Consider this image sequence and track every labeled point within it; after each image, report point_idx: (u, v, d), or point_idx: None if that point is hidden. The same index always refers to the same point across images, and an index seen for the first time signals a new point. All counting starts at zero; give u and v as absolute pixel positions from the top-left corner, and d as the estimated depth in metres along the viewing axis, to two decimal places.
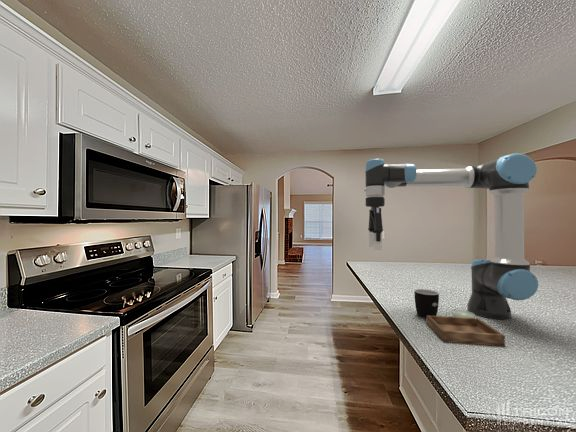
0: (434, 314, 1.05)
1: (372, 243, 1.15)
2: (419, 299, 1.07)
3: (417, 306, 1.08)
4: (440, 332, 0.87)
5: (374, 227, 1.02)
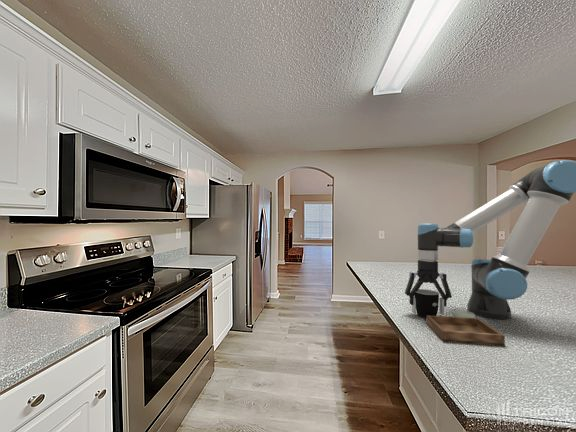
0: (434, 314, 1.05)
1: (440, 310, 1.09)
2: (419, 299, 1.07)
3: (417, 306, 1.08)
4: (440, 332, 0.87)
5: None
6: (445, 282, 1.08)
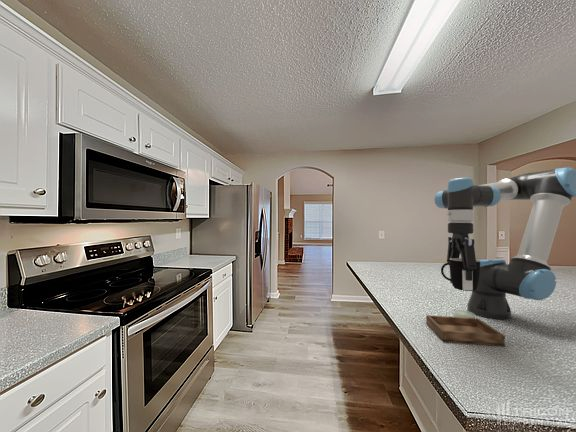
0: None
1: None
2: (478, 269, 0.88)
3: (474, 279, 0.88)
4: (440, 332, 0.87)
5: (463, 262, 0.88)
6: None
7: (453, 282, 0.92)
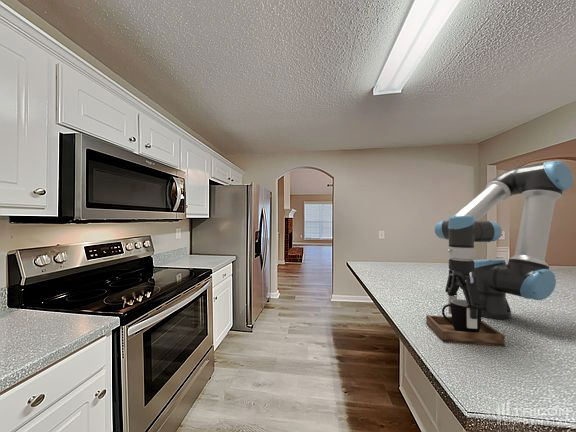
0: None
1: None
2: (479, 314, 0.87)
3: None
4: (440, 332, 0.87)
5: (467, 300, 0.85)
6: None
7: (455, 326, 0.91)
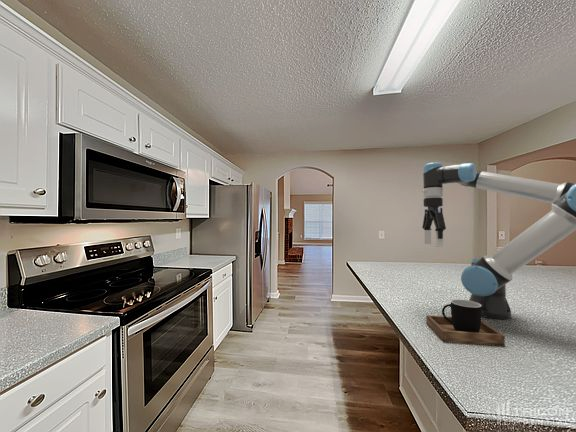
0: None
1: (427, 240, 1.24)
2: (479, 314, 0.87)
3: (476, 324, 0.87)
4: (440, 332, 0.87)
5: (435, 225, 1.11)
6: None
7: (455, 326, 0.91)
